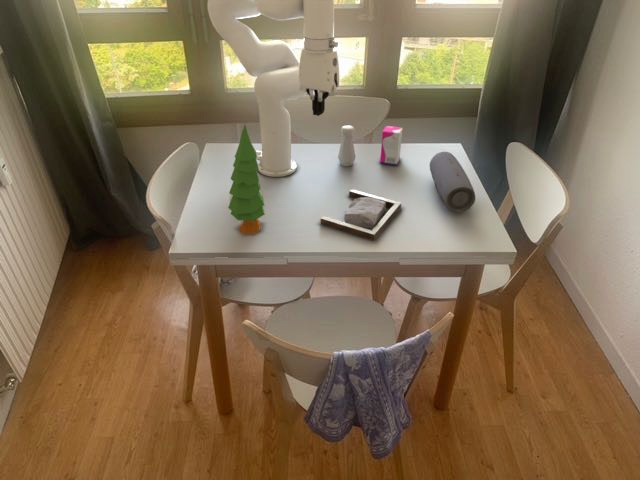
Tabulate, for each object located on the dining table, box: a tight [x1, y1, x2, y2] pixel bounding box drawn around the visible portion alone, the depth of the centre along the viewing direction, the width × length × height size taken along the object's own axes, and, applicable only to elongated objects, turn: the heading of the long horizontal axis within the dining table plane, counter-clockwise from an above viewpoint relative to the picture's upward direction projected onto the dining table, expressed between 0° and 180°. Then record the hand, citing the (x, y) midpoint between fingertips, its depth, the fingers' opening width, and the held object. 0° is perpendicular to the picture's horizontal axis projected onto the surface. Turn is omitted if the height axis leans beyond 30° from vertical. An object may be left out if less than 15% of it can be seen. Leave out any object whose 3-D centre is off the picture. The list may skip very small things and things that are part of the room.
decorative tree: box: [227, 124, 266, 236], centre depth 125 cm, size 10×9×30 cm
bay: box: [320, 188, 402, 242], centre depth 139 cm, size 16×19×2 cm
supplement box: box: [379, 125, 404, 166], centre depth 165 cm, size 6×6×12 cm
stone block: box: [343, 197, 387, 230], centre depth 138 cm, size 12×5×10 cm
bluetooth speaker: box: [429, 151, 476, 213], centre depth 146 cm, size 23×9×10 cm, turn 1°
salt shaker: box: [337, 125, 356, 167], centre depth 163 cm, size 6×6×13 cm
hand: (318, 113), depth 135 cm, fingers closed
